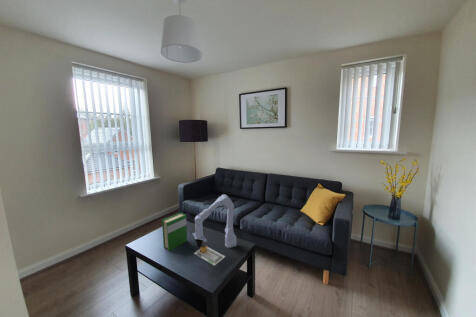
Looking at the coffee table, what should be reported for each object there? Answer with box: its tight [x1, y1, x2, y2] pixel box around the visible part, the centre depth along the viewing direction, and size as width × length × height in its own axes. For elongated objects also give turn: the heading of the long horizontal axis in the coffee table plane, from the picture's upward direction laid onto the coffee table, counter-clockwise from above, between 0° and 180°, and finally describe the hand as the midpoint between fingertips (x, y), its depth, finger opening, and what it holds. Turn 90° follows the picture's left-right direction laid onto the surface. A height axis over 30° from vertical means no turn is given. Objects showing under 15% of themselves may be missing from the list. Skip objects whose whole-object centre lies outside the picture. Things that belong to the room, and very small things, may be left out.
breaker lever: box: [200, 244, 208, 254], centre depth 148 cm, size 4×3×5 cm
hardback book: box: [161, 212, 188, 252], centre depth 159 cm, size 18×7×24 cm, turn 141°
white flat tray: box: [193, 246, 226, 267], centre depth 145 cm, size 12×22×2 cm, turn 53°
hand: (199, 246), depth 151 cm, fingers closed
